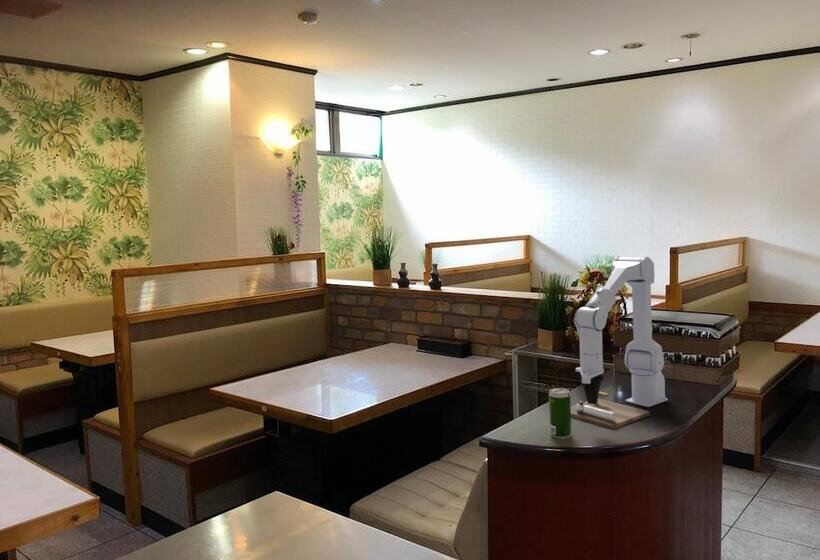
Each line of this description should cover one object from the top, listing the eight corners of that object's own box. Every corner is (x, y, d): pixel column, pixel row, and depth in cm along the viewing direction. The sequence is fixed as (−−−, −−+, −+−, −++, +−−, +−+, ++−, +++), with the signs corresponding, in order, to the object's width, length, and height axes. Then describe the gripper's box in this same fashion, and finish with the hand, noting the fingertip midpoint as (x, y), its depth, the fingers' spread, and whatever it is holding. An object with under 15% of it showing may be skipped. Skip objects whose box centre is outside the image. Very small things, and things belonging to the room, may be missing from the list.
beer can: (561, 441, 166) (559, 395, 165) (546, 435, 170) (544, 390, 169) (576, 435, 169) (574, 390, 167) (560, 430, 173) (559, 386, 172)
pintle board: (597, 401, 196) (597, 386, 195) (649, 415, 181) (649, 399, 180) (560, 413, 187) (560, 398, 186) (612, 429, 172) (611, 412, 171)
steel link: (574, 411, 184) (574, 401, 183) (580, 409, 185) (580, 399, 185) (610, 421, 174) (610, 411, 173) (616, 419, 175) (616, 409, 175)
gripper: (581, 346, 179) (583, 394, 180) (569, 358, 166) (570, 410, 168) (608, 347, 176) (609, 396, 177) (597, 359, 163) (598, 412, 164)
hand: (592, 403), depth 172 cm, fingers closed
